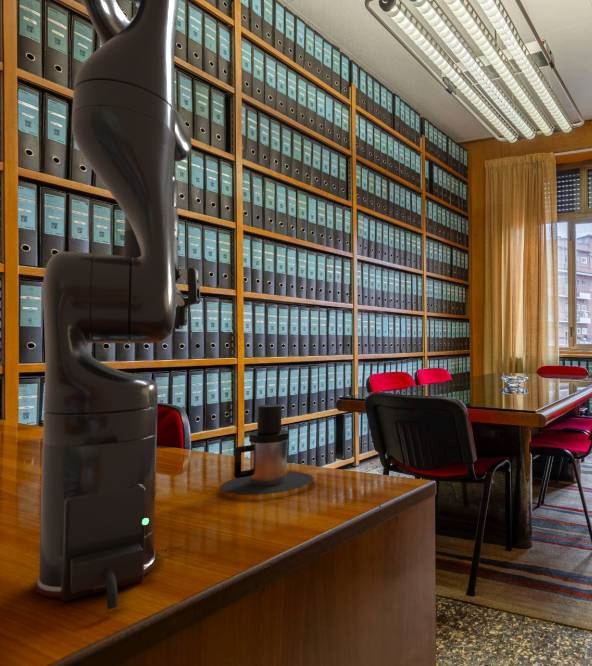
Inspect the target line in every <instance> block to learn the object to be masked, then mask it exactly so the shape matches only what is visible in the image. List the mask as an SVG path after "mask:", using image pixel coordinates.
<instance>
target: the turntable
mask: <svg viewBox="0 0 592 666" xmlns="http://www.w3.org/2000/svg"><path fill="white" fill-rule="evenodd" d="M313 480H314V477H313V475H311V474H309V473H306V472H301V471H293V470H291V471H288V470H287V480H286V482H284V483H281V484H278V485H273V486H261V487H260V486H252V485H250V476H247V477H241V478H235V477H234V478H232V479H230V480H227V481H226V482H223V483H222V484H221V485H220V490H221V491H222V492H224V493H226V494H232V495H239V496H240V495H244V496H254V495H255V496H256V495H257V496H259V495H269V494H276V493H277V494H278V493H282V492H288V491H292V490H296V489H299V488H302V487H304V486H307V485H309V484H310V483H312V482H313Z"/></svg>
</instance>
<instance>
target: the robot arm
mask: <svg viewBox="0 0 592 666" xmlns="http://www.w3.org/2000/svg"><path fill="white" fill-rule="evenodd" d="M81 1H82V4H83V5H84V8H85V10H86V12H87V14H88V17H89V20H90V21H91V24H92V26H93V27H94V29H95V32H96V34H97V37H98V38H99V41H100V42H101V46H100V47H99V48H97V49H96V50H95V51H93V53H92V54H91V55H89V56H88V57H87V58H86V59H85V60H84V61H83V63H82V65H81V66H80V67H79V69H78V70H77V72H76V74H75V76H74V82H73V93H72V110H71V111H72V112H71V113H72V115H71V133H72V137H73V139H74V142H75V144H76V146H77V148H78V150H79V152H80V153H81V155H82V157H83V159H84V160H85V161H86V162H87V164H88V165H89V167H90V168H91V170H92V171H93V172H94V174H95V175H96V176H97V178H98V179H99V180H100V181H101V183H102V184H103V185H104V187H105V188H106V189H107V191H108V192H109V193H110V195H112V197H113V199H114V200H115V202H116V203H117V204H118V206H119V207H120V209H121V211H122V213H123V214H124V230H123V231H124V234H123V237H124V238H123V255H116V254H105V253H95V252H84V251H83V252H82V251H59V252H56V253H54V254H53V255H52V256H51V257H50V258H49V260H48V262H47V263H46V266H45V268H44V274H43V281H42V308H43V323H44V324H43V325H44V349H45V350H44V351H45V352H44V353H45V355H44V357H45V359H44V360H45V361H44V398H43V399H44V400H43V420H42V422H43V423H42V424H43V425H42V450H41V451H42V452H41V483H40V485H41V486H40V488H41V490H40V519H39V521H40V523H39V527H40V528H39V567H38V568H39V571H38V577H37V584H36V585H37V586H36V587H37V588H36V590H37V593H38V594H40V595H42V596H43V597H49V598H60V599H61V601H62V602H69V601H72V600H76V599H80V598H83V597H87V596H90V595H94V594H95V595H96V594H98V593H103V592H106V610H111V609H115V608H118V605H119V604H118V602H119V601H118V600H119V599H118V598H119V597H118V595H119V594H118V588H121V587H125V586H128V585H133V584H136V583H139V582H142V581H144V580H145V575H147V574H148V573H150V572H151V571H152V570H153V568H154V567H155V565H156V552H155V535H156V534H155V532H156V531H155V530H156V527H155V526H156V525H155V522H156V518H155V517H156V484H157V440H158V439H157V438H158V437H157V436H158V408H159V407H158V404H159V402H158V401H159V389H158V385H157V383H156V381H155V380H153V379H152V378H149V377H147V376H146V377H145V376H141V375H138V374H134V373H131V372H126V371H122V370H119V369H116V368H114V367H111V366H109V365H107V364H105V363H103V362H102V361H99V360H98V359H96V358H95V357H94V356H92V355H91V353H90V352H89V351H88V347H87V346H88V344H130V343H131V344H155V343H162V342H165V341H166V340H167V339H168V338H169V337H170V336H171V334H172V333H173V330H174V329H175V330H183V329H184V327H186V326H187V324H188V309H189V307H191V306H193V305H198V304H200V303H201V287H200V286H201V283H200V272H199V271H198V270H197V269H195V268H193V267H189V268H188V269H186V268H185V269H180V267H179V237H180V222H179V214H178V197H179V185H178V180H177V178H176V177H175V176H174V167H175V162H177V163H178V162H182V161H184V160H186V159H187V158H188V157H189V156H190V154H191V151H192V139H191V135H190V134H191V133H190V131H189V130H188V127H187V124H186V123H185V121H184V120H183V118H182V116H181V114H180V113H179V111H178V109H177V107H176V87H175V47H176V34H177V23H178V14H179V2H180V0H124V1H126V2H130V3H133V4H138V6H137V10H136V12H135V14H134V15H133V17H132V18H131V20H130V19H129V18H128V17H127V15H126V14H125V13H124V11H123V10H122V8H121V7H120V5H119V4H118V2H117V0H81ZM181 277H182V279H183V280H184V282H187V295H188V297H185V296H184V295H183V294H182V292H181V290H179V288H178V287H177V286H176V282H177V281H179V279H180V278H181Z"/></svg>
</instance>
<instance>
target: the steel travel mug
mask: <svg viewBox="0 0 592 666" xmlns="http://www.w3.org/2000/svg"><path fill="white" fill-rule="evenodd" d="M248 438H249V439H248V442H249V443H250V444H248V445H241V446H236V447H234V451H233V477H234V479H235V478H241V477H247V476H250V485H252V486H260V487H261V486H273V485H278V484H281V483H284V482H286V480H287V471H288V440H289V438H290V432H289V430H287V429H282V404H274V403H273V404H269V403H268V404H261V405H257V429H256V430H255V431H252V432H250V433H249V435H248ZM248 452H249V469H246V470H242V453H248Z"/></svg>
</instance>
